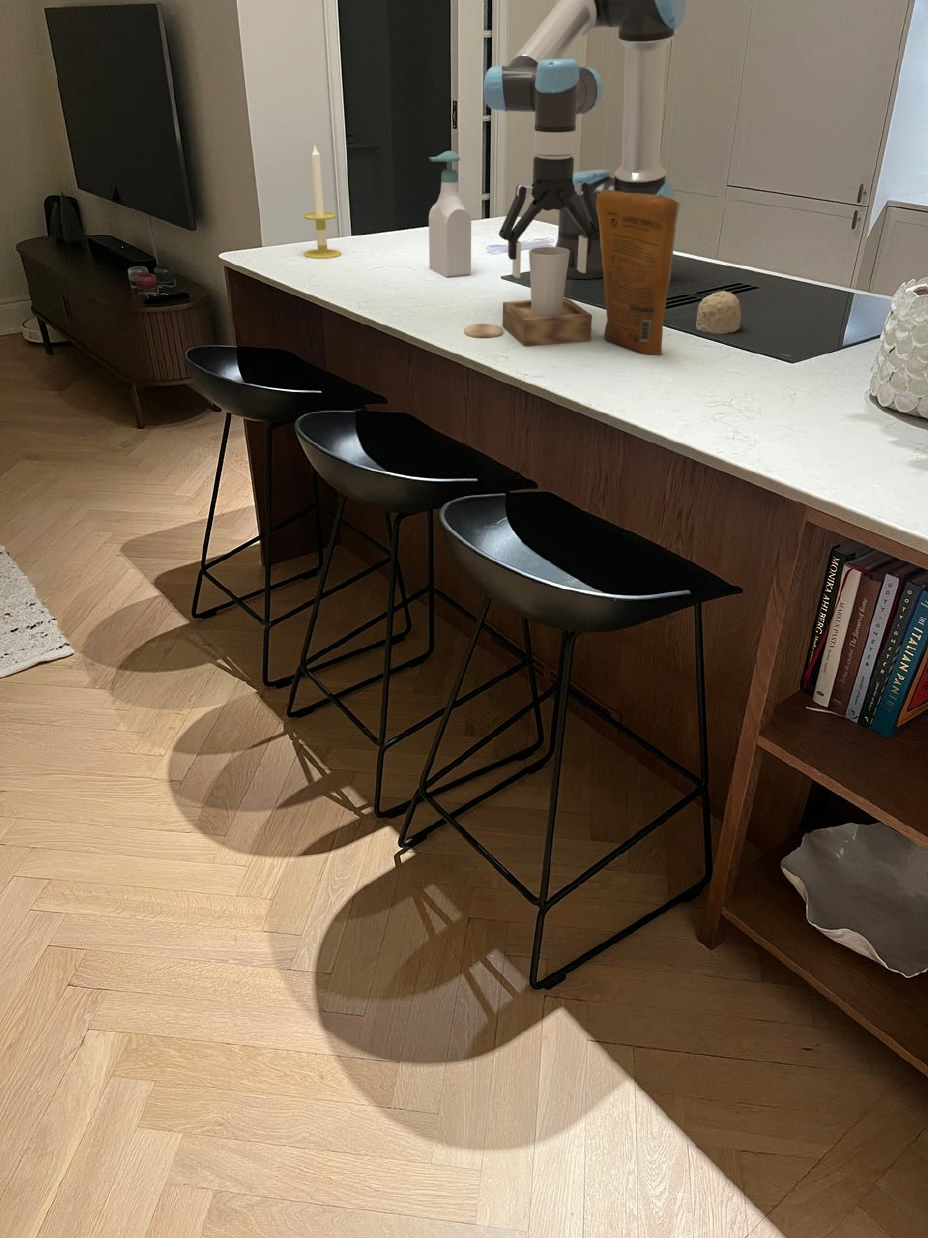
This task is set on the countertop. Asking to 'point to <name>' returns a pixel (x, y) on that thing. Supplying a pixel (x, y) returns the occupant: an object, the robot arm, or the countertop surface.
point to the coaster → (483, 330)
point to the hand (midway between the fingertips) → (549, 273)
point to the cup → (548, 279)
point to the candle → (319, 214)
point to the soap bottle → (449, 225)
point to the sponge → (719, 313)
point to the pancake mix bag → (636, 265)
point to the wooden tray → (546, 324)
